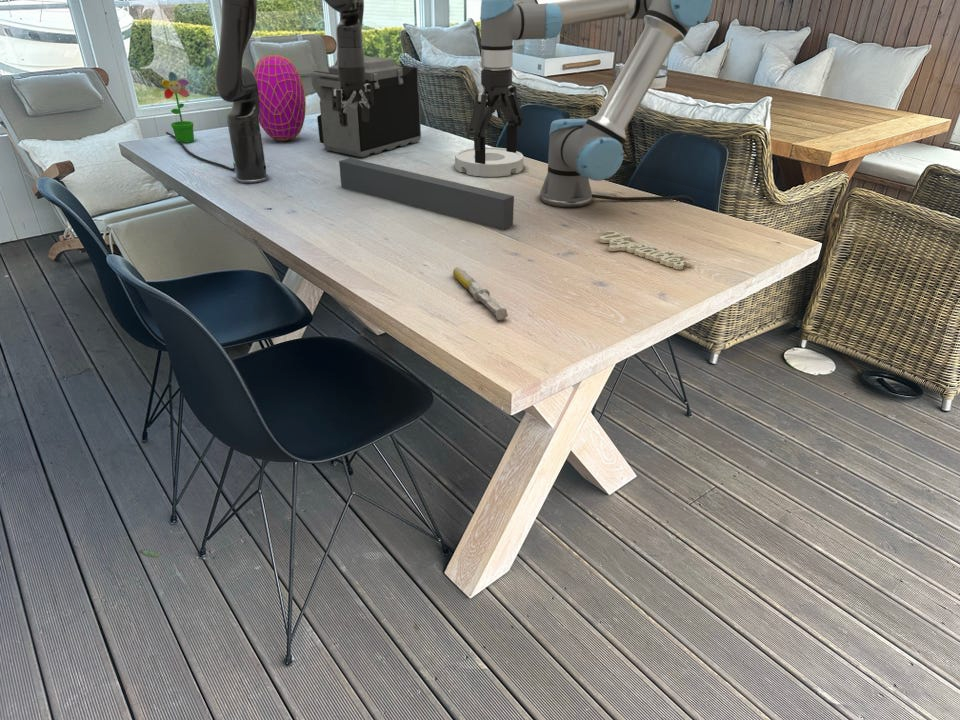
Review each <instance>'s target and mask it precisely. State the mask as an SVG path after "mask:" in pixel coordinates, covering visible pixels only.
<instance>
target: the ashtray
mask: <svg viewBox="0 0 960 720" xmlns="http://www.w3.org/2000/svg"><path fill="white" fill-rule="evenodd" d="M524 159H525V158H524V155H523V153H522V152H520V151H518V150H517V151H516V153H513V152H507V151H506V147H504V148H503V147H493V146H492V147H491V146H485V164H480V163H475V150H474V147H471V148H465V149H461V150H459V151H457V152H455V154H454V168H455V170H456V171H457V172H459V173H466V175H467V176H474V177H483V178H490V177H491V178H498V177H507V176H511V174H519V173H520V172H522V171H523V169H524Z"/></svg>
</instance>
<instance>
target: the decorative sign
mask: <svg viewBox="0 0 960 720" xmlns="http://www.w3.org/2000/svg"><path fill="white" fill-rule="evenodd" d="M599 243H602V244H608V245H609V246H608V252H619V251H623V252H625V251H626V252H627V253H630V254H634V255H635V256H638V257H640V258H645V259H646V260H651V261H653V262H659V264H661V265H665V266H666V267H671V268H672V269H674V270H683V269H684V267H686V268H689V267H690V261H689V260H685V259H684V258H685V257H684V254H675V253H674V251H672V250H664V251H659V250H658V247H655V246H654V245H648V244H646V243H643V244H638V243H636V242H632V236H631V235H622V236H620V232H618V231H614V230H606V234H605V235H601V236H600V237H599Z"/></svg>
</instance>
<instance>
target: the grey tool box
mask: <svg viewBox="0 0 960 720" xmlns="http://www.w3.org/2000/svg"><path fill="white" fill-rule="evenodd" d="M364 62H365V82H364V84H365V83H367V84H372V85H373V95H374V105H372V106H370V108H369V117H370V118H369V122H363V121H362V111H361V108H363V107H361V105H360V103H359V102H355V103H351V105H350V106H349V107H348V109H347V111H346V113H347V121H348V126H347V127H343V126H341V124H340V120H339V113H338V112H337V111H333V109H332V89H333V88H334V89H340V88H341V83H340V82H339V77H338V64H337V60H335V63H334V64H333V65H330V66H329V67H328V72H327V71H320V70H314V71H313V70H312V71H310V79H311V87H313V90H314V91H315V93H316V94H317V96H318V98H319V110H320V111H319V112H320V114H319V115H317V116H316V119H317V128H318V138H319V143H320V144H323V146H324V149H325V150H327V151H330V152H335V153H340V154H344V155H348V156H353V157H357V158H362V159H363V158H366V157H367V158H368V157H369V155H371V154H375V155H377V154H381V153H382V152H383V151H391V150H395V149H396V148H397V147H405V146H407V145H408V144H416V143H418V142H419V141H421V137H422V128H421V97H420V92H419V91H420V89H419V68H418V67H417V66H408V65H400V64H396V62H395V60H394V59H393V58H385V57H377V56H367V55H364ZM364 95H365V92H364ZM341 97H342V96H341ZM369 101H370V97H369ZM345 102H346V100H345ZM343 107H344V106H343Z"/></svg>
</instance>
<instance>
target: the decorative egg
mask: <svg viewBox="0 0 960 720" xmlns="http://www.w3.org/2000/svg"><path fill="white" fill-rule="evenodd" d="M253 70H254V71H252V72H253V74H254V76H255V78H256V81H257V86H258V93H259V104H260V114H259V125H260V128H262V130H263V131H264V133H266V135H267V136H268V137H270V138H271V139H273V140H275V141H282V142H286V141H291V140H293V139H296V138H297V137H298V136H299V134H301V131H302V129H303V127H304V123H305V118H306V104H307V103H306V102H307V101H306V99H307V97H306V93H305V88H304V84H303V81H302V77H301V75H300V73H299V71H298V69H297V67H296V66H295V65H294V63H293V62H292V61H291V60H290V59H288V58H287V57H285V56H282V55H280V54H268V55H265V56H262V57H261V58H260V59H259V60H258V61H257V62H256V65H255V68H254V69H253Z"/></svg>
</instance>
